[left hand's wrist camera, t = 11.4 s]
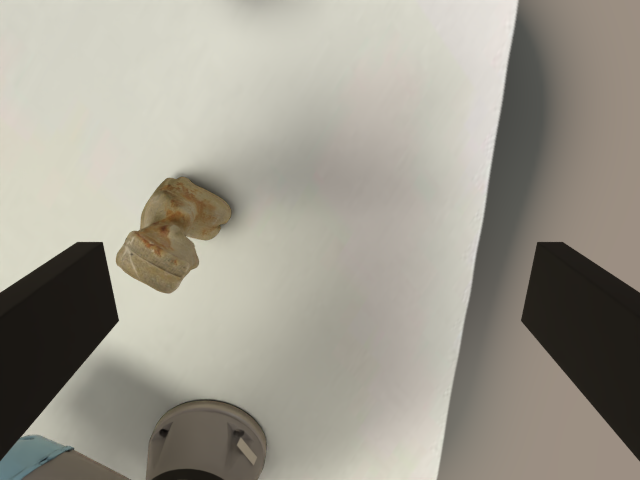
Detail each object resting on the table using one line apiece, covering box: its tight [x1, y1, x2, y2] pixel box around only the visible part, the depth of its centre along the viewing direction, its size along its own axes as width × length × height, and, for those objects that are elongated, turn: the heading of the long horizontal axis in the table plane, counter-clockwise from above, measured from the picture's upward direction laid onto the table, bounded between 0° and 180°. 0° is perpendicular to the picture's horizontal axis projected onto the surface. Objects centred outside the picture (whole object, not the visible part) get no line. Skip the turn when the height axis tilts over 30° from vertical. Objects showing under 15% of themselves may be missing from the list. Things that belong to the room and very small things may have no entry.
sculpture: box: [116, 177, 231, 293], centre depth 36 cm, size 6×7×15 cm
